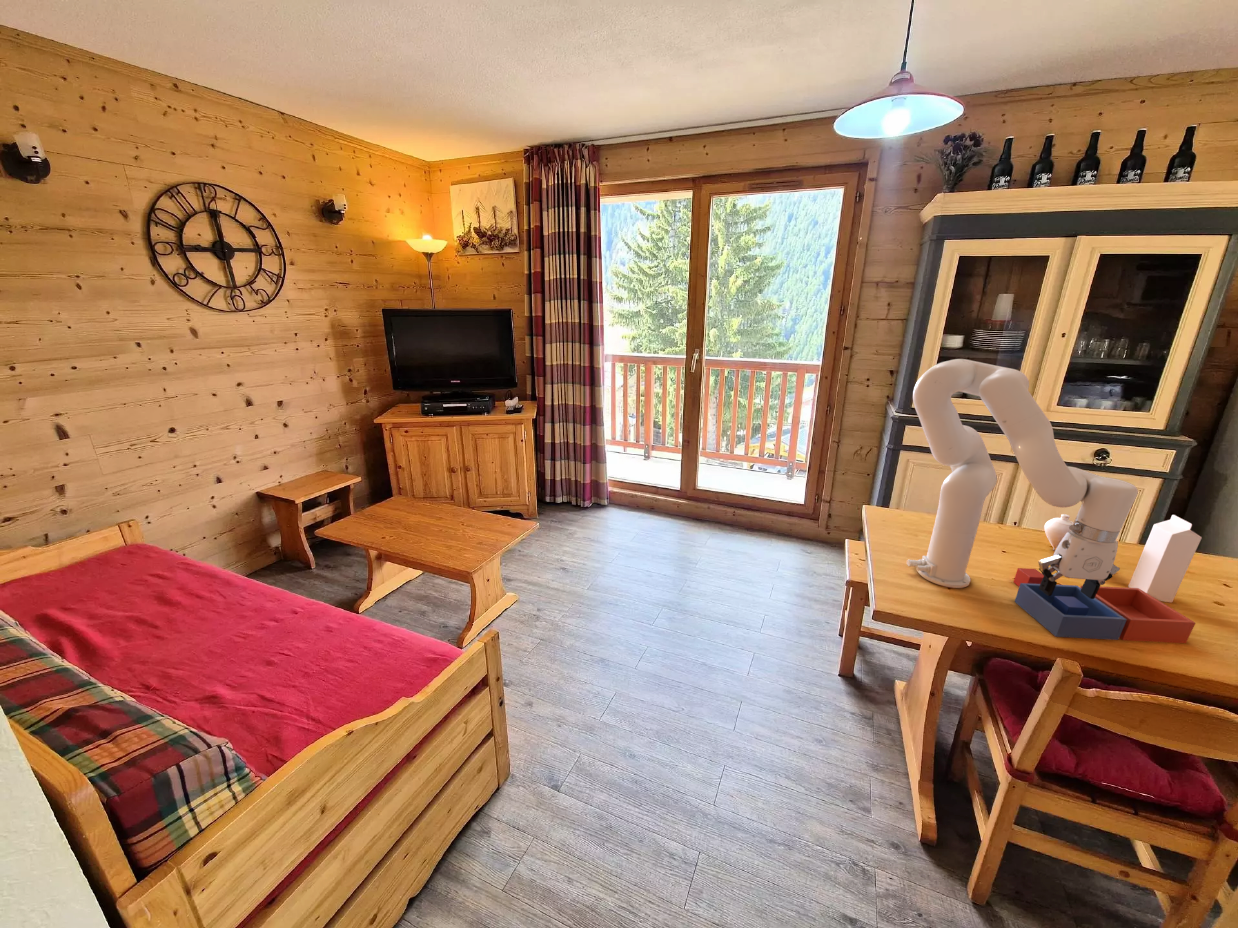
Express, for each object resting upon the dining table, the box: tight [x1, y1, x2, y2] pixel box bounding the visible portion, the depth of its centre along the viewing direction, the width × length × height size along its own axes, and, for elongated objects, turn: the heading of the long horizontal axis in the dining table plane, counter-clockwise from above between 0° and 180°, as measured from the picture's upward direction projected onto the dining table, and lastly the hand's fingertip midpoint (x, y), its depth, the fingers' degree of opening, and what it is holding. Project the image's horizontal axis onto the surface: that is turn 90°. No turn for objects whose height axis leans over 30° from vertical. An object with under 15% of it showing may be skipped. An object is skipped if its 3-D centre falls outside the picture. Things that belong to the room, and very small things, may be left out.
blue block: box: [1051, 596, 1089, 616], centre depth 116 cm, size 4×4×4 cm
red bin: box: [1079, 585, 1196, 644], centre depth 115 cm, size 14×14×6 cm
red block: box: [1013, 567, 1044, 587], centre depth 130 cm, size 4×4×4 cm
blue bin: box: [1014, 583, 1127, 641], centre depth 116 cm, size 14×14×6 cm
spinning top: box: [1043, 513, 1074, 551], centre depth 148 cm, size 8×8×12 cm
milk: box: [1127, 514, 1202, 603], centre depth 124 cm, size 6×6×22 cm
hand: (1065, 593), depth 116 cm, fingers open, 9 cm apart
